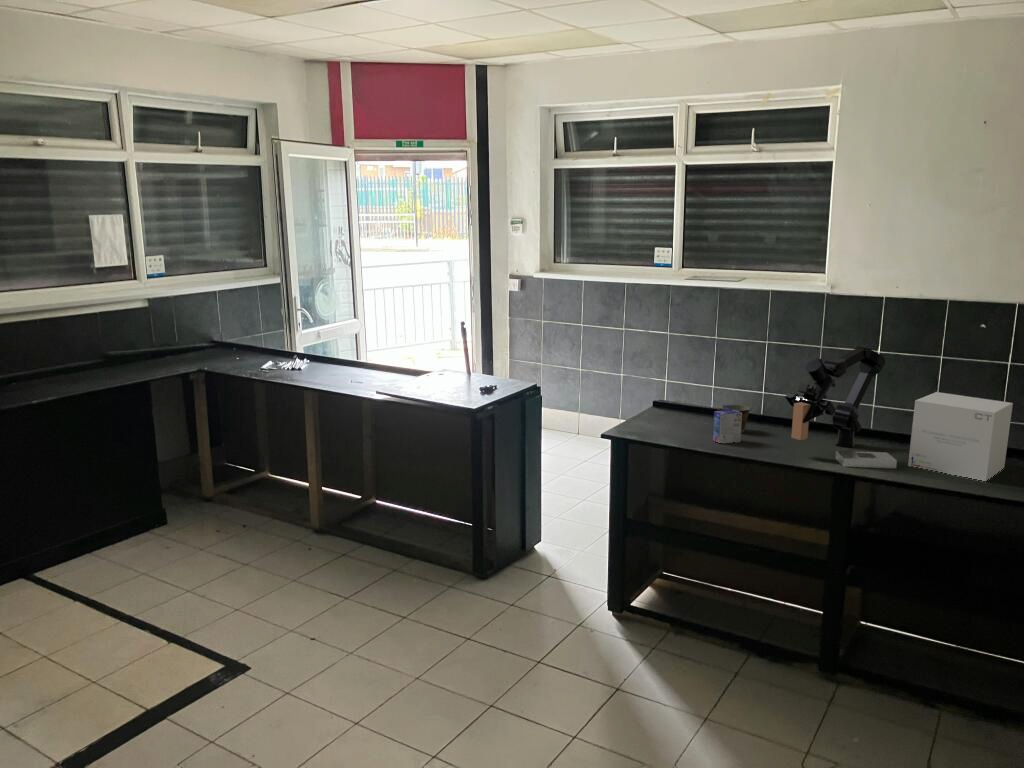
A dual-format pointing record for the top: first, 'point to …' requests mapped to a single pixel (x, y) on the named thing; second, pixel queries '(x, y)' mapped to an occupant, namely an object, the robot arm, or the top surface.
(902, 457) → the top surface
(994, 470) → the white cardboard box
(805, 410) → the square peg
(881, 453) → the grey flat block
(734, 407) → the ceramic cup
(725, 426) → the ink cartridge box
